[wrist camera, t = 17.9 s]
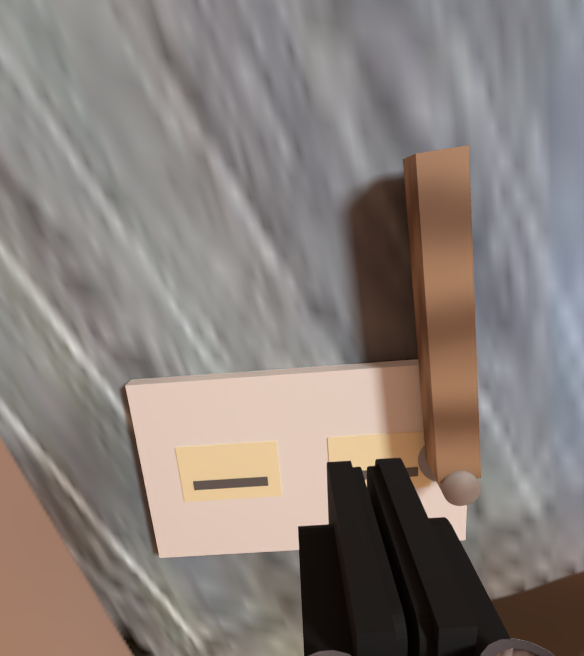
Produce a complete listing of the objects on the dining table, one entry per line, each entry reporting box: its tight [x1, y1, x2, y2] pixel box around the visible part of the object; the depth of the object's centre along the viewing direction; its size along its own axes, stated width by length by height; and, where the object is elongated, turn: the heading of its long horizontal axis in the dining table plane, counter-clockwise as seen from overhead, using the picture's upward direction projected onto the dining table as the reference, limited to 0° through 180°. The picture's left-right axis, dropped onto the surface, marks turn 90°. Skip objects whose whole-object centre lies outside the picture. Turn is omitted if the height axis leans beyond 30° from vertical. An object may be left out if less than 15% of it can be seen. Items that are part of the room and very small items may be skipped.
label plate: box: [125, 359, 467, 558], centre depth 35 cm, size 26×16×2 cm, turn 95°
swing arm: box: [403, 145, 481, 506], centre depth 29 cm, size 24×3×3 cm, turn 9°
